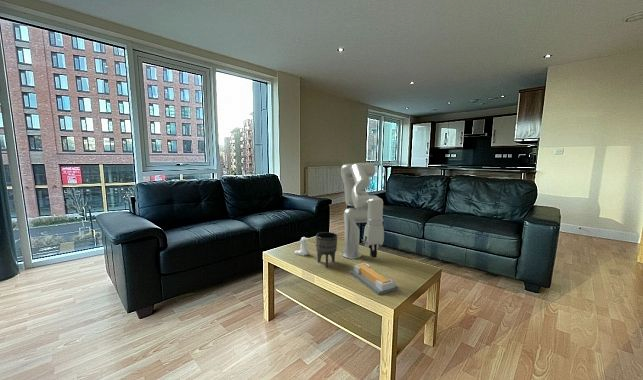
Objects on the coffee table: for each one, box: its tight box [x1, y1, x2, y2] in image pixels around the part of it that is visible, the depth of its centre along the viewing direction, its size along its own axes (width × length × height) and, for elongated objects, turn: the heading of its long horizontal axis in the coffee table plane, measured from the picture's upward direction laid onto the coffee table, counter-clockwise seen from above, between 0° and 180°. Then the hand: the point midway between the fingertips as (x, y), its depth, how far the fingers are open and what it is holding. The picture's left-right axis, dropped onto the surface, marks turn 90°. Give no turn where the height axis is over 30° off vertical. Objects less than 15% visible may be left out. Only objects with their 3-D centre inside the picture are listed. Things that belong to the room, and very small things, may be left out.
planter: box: [315, 231, 338, 268], centre depth 155 cm, size 13×13×18 cm
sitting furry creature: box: [294, 236, 310, 257], centre depth 170 cm, size 10×9×12 cm
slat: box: [357, 263, 389, 284], centre depth 133 cm, size 22×4×4 cm, turn 26°
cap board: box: [349, 262, 399, 296], centre depth 134 cm, size 25×12×4 cm, turn 25°
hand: (373, 256), depth 133 cm, fingers closed
